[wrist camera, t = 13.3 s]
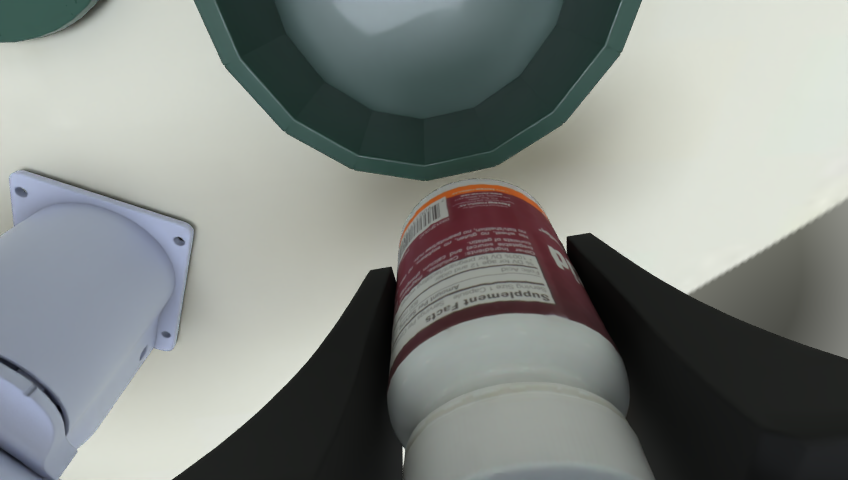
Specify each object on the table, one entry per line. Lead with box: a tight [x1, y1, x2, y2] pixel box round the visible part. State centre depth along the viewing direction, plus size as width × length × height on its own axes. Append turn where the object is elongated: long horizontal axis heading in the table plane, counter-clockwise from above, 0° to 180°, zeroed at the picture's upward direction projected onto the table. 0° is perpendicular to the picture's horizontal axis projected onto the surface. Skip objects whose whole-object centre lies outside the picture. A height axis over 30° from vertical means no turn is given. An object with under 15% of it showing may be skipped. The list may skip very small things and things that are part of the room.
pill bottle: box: [387, 179, 655, 480], centre depth 10 cm, size 5×5×8 cm
